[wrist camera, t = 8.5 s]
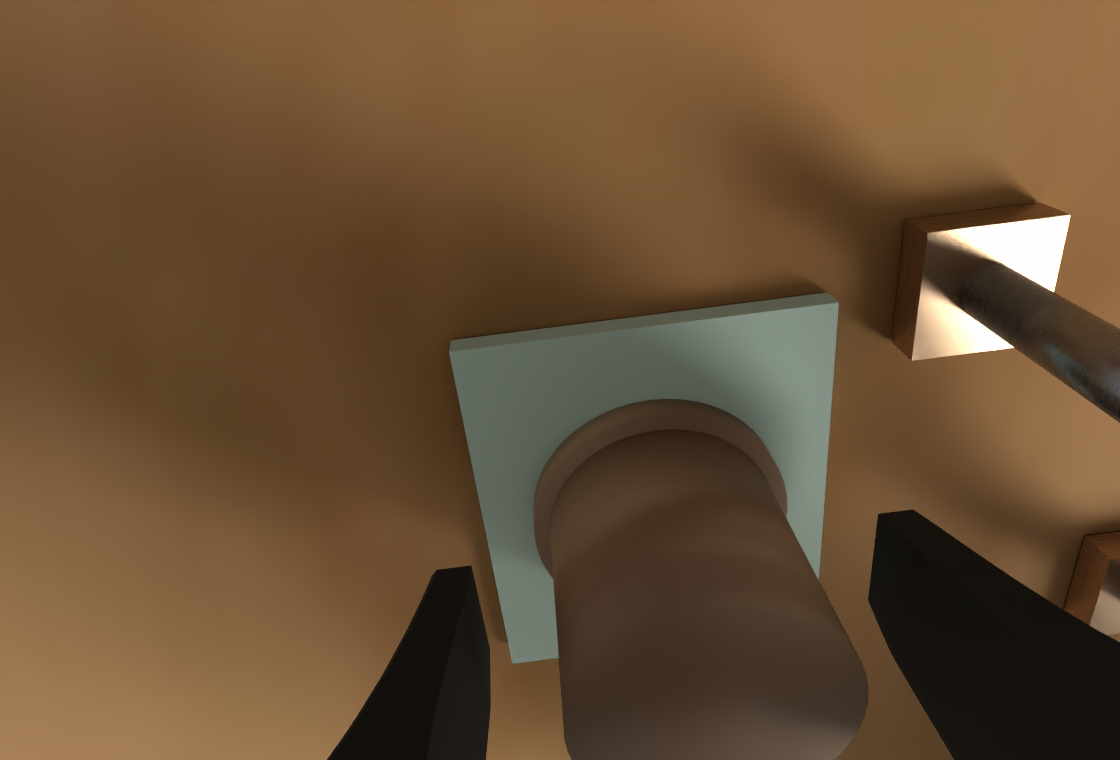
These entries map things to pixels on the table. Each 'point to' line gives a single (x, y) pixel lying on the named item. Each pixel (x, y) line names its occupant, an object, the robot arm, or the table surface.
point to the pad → (627, 377)
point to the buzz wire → (1014, 334)
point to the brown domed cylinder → (688, 596)
